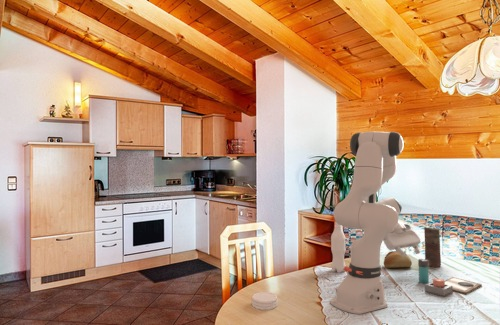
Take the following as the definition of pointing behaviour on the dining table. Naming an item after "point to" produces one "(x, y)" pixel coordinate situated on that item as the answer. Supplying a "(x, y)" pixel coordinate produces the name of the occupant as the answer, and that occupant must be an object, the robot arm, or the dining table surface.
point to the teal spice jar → (423, 271)
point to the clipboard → (462, 285)
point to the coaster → (264, 301)
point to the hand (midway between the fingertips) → (411, 254)
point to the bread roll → (396, 260)
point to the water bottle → (338, 249)
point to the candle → (432, 246)
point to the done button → (439, 283)
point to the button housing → (438, 289)
